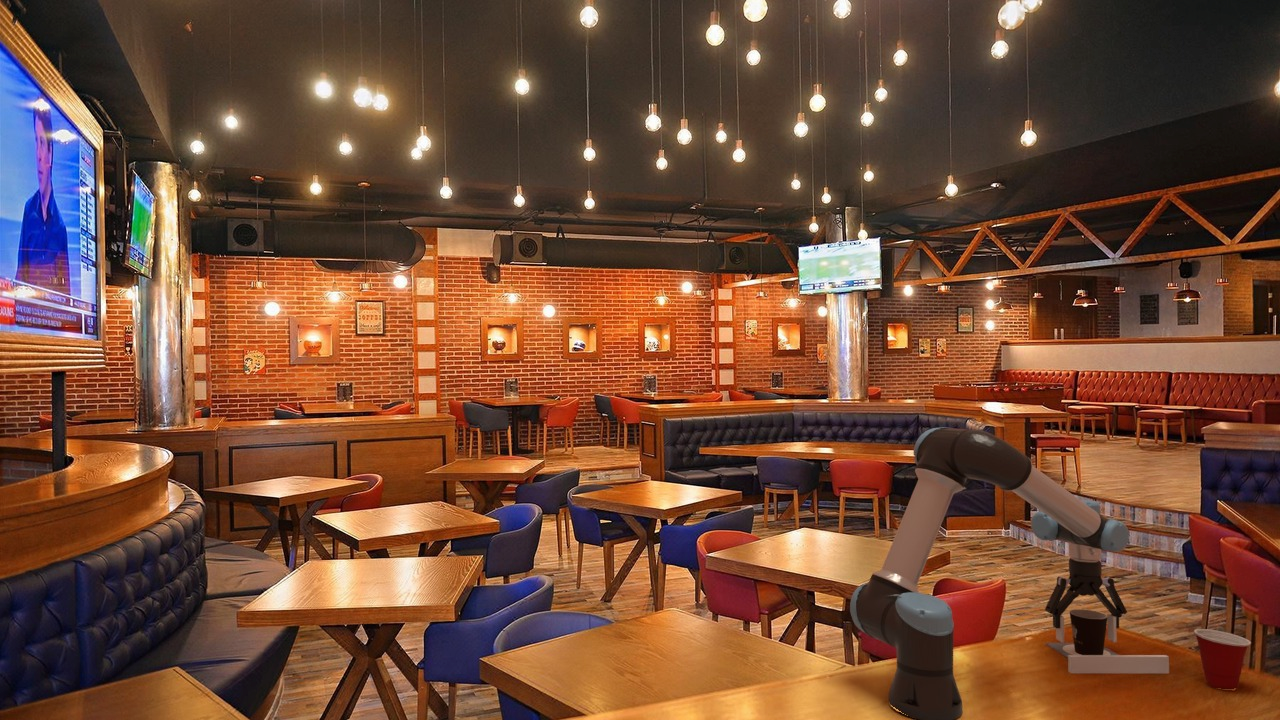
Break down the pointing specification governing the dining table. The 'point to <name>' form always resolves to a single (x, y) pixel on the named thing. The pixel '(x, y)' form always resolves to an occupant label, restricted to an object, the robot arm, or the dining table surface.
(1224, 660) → the plastic cup
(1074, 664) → the low wall
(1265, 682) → the dining table surface
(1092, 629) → the coffee mug
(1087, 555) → the robot arm
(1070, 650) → the mat
